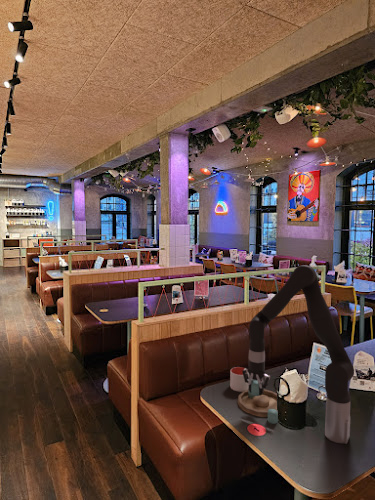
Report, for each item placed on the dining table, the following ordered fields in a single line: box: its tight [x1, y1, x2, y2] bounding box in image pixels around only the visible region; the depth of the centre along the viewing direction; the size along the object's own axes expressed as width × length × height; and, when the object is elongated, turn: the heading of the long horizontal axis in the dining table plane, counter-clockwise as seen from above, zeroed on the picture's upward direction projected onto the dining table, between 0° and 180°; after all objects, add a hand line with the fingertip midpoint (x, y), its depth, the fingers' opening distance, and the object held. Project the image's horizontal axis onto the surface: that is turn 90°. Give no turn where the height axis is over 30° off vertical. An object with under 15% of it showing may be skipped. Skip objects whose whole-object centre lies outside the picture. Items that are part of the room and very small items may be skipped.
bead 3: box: [267, 409, 279, 425], centre depth 156 cm, size 4×4×6 cm
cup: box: [229, 366, 250, 393], centre depth 187 cm, size 10×10×10 cm
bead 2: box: [251, 380, 260, 396], centre depth 164 cm, size 4×4×6 cm
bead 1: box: [248, 387, 254, 399], centre depth 177 cm, size 4×4×6 cm
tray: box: [237, 388, 278, 418], centre depth 171 cm, size 23×23×3 cm
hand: (255, 393), depth 165 cm, fingers closed on bead 2, 4 cm apart
